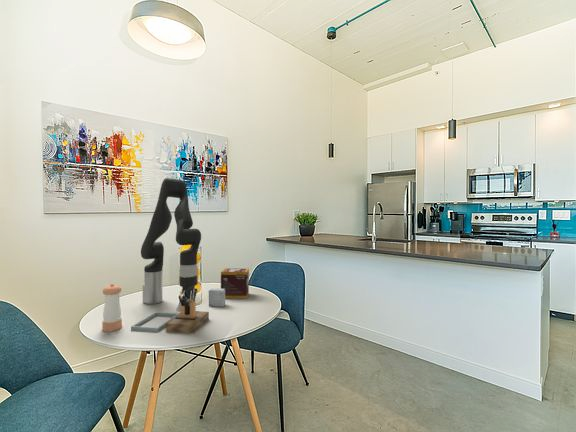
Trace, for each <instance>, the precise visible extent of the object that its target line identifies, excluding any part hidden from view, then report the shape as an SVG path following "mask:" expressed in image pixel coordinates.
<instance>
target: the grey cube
mask: <svg viewBox="0 0 576 432" xmlns="http://www.w3.org/2000/svg"><path fill="white" fill-rule="evenodd" d="M225 304H226V298H225V289H221V288H214V287H213V288H210V289H208V307H224V306H225Z"/></svg>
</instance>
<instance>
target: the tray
mask: <svg viewBox="0 0 576 432" xmlns="http://www.w3.org/2000/svg"><path fill="white" fill-rule="evenodd" d="M178 314H180V312H179V313H175V312H164V311H163V312H161V311H160V312H159V311H155V312H154V313H152V314H149V315H148V316H146V317H145V318H143V319H142V320H140V321H138V322H136V323H134V324H133V325H131V326H130V332H133V331H136V332H137V331H139V332H151V333H159V332H160V331H161V330H163V329H164V328H166V323H167V322H168V321H170V320H171V319H172V318H174V317H175V316H177V315H178ZM156 317H166V318H167V317H171V318H170V319H167V320H166V321H165V322H164V323H162V324H161V325H158V327H151V326H143V325H145V324H146V323H147V322H149V321H151V320H153V319H154V318H156Z"/></svg>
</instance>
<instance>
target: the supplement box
mask: <svg viewBox="0 0 576 432" xmlns="http://www.w3.org/2000/svg"><path fill="white" fill-rule="evenodd" d="M249 271H250V269H249V268H224V269H223V270H221V272H220V289H225V299H247V298H248V296H249V292H250V291H249V287H250V283H249V282H250V281H249V277H250V272H249Z"/></svg>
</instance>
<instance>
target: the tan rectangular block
mask: <svg viewBox="0 0 576 432" xmlns="http://www.w3.org/2000/svg"><path fill="white" fill-rule="evenodd" d="M187 302H188V301H187ZM196 303H197V301H196V300H195V301H190V314H189V315H185V306H182V305H181V312H180V313H181V317H184V318H195V316H196V311H197V309H196V305H197V304H196Z"/></svg>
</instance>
